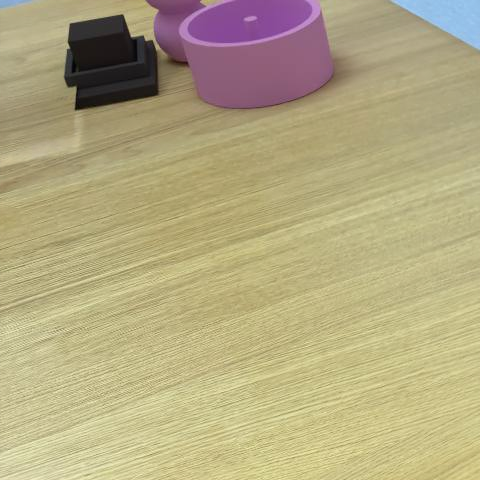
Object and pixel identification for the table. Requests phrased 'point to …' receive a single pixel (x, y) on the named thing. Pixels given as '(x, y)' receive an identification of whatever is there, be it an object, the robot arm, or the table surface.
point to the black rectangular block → (101, 43)
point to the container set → (247, 48)
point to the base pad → (115, 78)
